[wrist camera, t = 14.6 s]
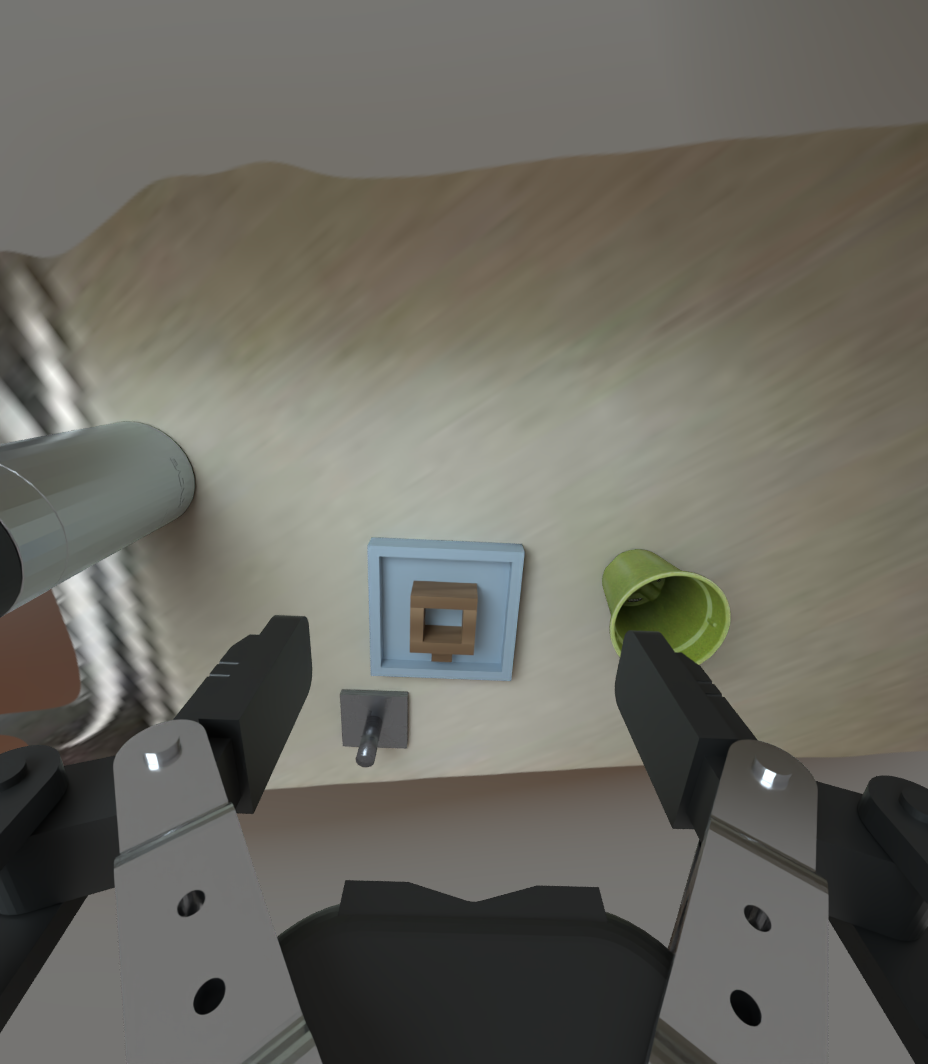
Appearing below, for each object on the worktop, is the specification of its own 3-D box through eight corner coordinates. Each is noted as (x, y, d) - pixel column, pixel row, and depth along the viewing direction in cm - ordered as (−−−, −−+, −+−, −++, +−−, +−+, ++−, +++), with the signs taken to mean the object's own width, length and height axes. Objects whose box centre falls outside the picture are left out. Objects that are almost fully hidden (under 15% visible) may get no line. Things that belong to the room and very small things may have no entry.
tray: (374, 663, 48) (370, 675, 46) (371, 537, 43) (367, 545, 41) (509, 668, 48) (511, 680, 46) (521, 544, 43) (524, 552, 41)
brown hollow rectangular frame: (413, 580, 44) (410, 595, 41) (476, 583, 44) (477, 598, 41) (412, 651, 47) (409, 670, 44) (471, 654, 47) (472, 672, 44)
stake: (344, 740, 51) (330, 785, 46) (341, 689, 49) (326, 730, 44) (407, 742, 52) (401, 787, 46) (407, 691, 49) (401, 733, 44)
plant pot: (587, 626, 46) (614, 683, 38) (580, 540, 43) (607, 582, 35) (681, 612, 46) (728, 667, 38) (681, 524, 43) (732, 563, 35)
